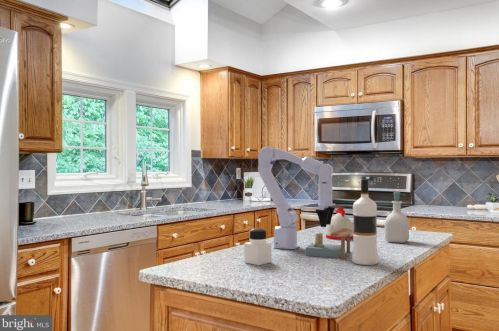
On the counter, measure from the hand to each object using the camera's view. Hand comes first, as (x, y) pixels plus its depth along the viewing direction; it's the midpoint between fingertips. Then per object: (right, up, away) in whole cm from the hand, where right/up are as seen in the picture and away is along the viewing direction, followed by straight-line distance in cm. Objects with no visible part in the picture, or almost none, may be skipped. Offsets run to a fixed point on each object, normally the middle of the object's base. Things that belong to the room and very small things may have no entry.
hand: (325, 225), depth 178 cm
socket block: (-2, -10, -9) cm, 13 cm away
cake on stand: (+12, -10, +30) cm, 34 cm away
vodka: (+10, -10, -24) cm, 28 cm away
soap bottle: (+36, -10, +18) cm, 41 cm away
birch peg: (-4, -10, -8) cm, 13 cm away
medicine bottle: (-28, -10, -23) cm, 38 cm away
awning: (+4, -10, -11) cm, 16 cm away
